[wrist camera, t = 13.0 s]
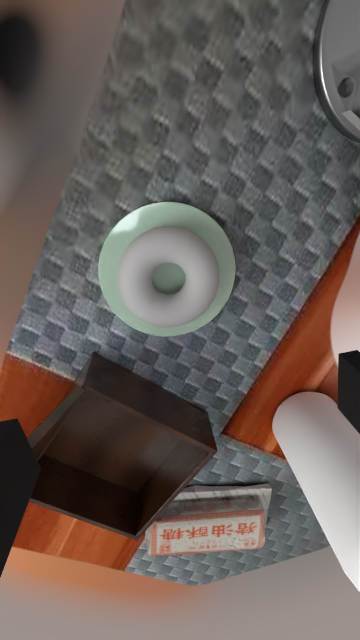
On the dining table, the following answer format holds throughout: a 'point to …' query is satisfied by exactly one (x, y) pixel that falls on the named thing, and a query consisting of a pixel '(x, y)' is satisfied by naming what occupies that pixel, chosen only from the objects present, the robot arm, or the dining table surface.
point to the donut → (159, 250)
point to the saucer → (168, 274)
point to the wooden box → (122, 451)
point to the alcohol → (325, 469)
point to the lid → (53, 423)
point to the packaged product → (211, 520)
